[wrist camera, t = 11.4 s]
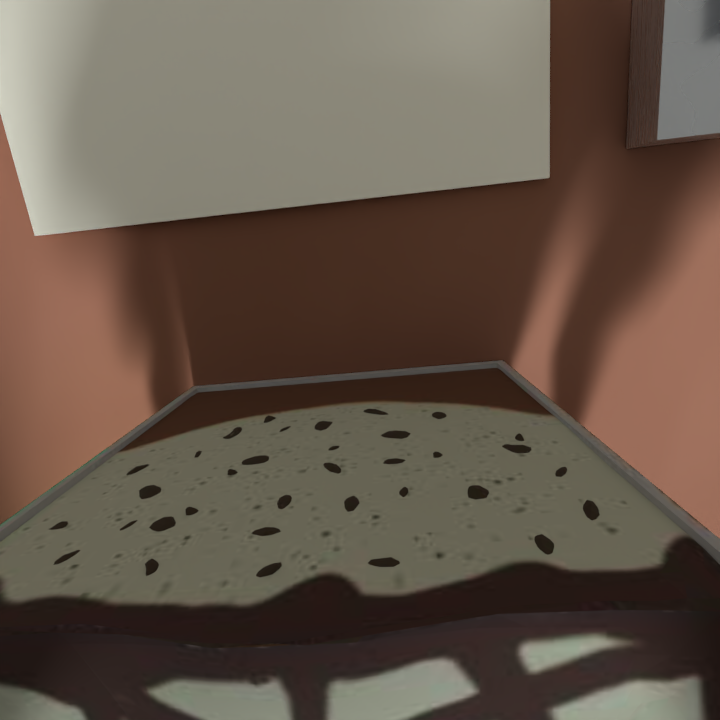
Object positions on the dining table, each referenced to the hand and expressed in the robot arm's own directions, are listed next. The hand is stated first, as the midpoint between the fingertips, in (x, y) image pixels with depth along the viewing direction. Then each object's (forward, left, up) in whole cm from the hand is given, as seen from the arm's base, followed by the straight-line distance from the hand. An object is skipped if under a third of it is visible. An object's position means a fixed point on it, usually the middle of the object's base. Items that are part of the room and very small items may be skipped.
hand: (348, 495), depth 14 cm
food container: (0, 0, -2) cm, 2 cm away
